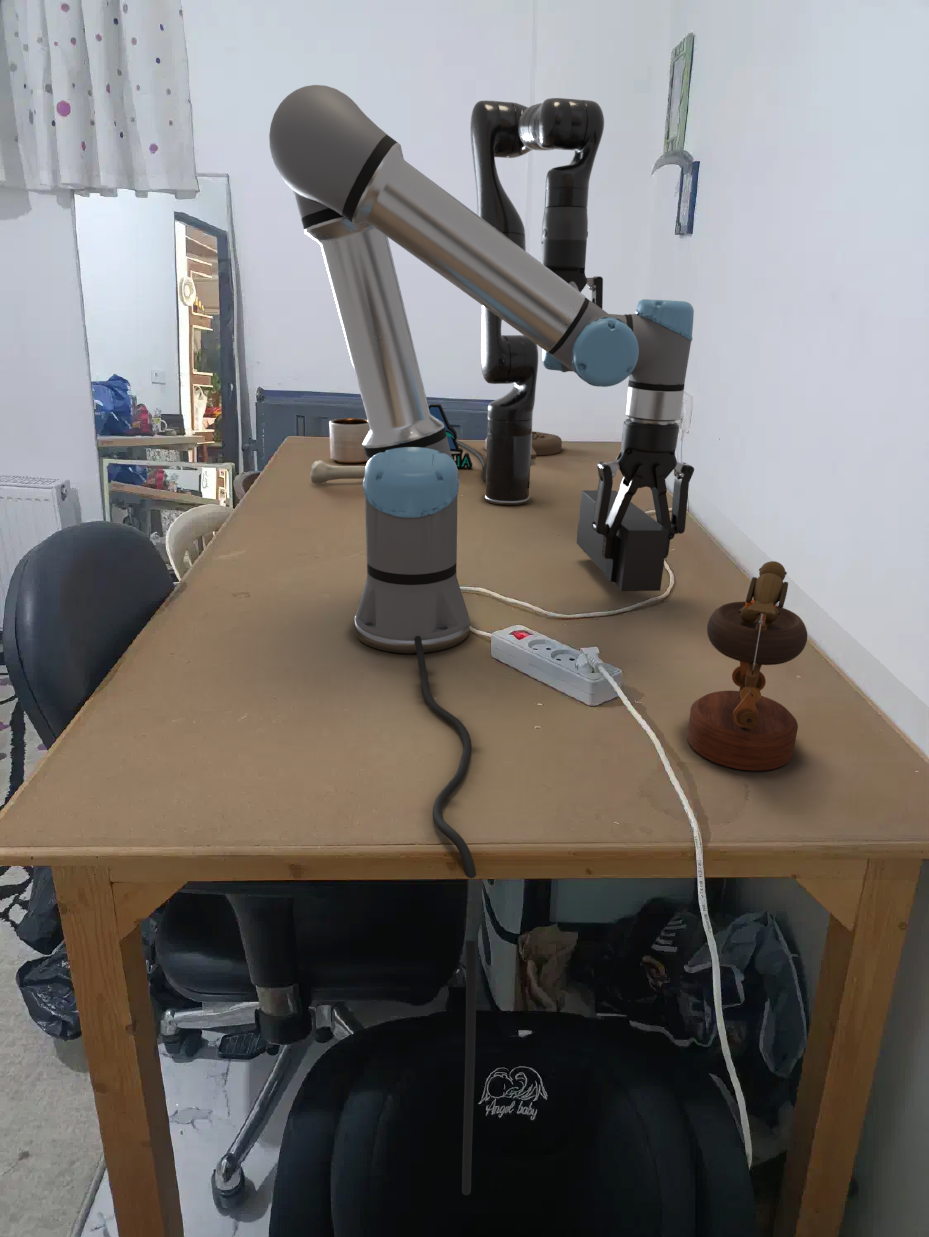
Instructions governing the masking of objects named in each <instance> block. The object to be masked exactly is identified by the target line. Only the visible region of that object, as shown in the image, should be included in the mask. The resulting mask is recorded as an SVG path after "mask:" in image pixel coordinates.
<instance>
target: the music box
mask: <svg viewBox="0 0 929 1237" xmlns="http://www.w3.org/2000/svg"><path fill="white" fill-rule="evenodd" d="M758 571H759V573H758V574H759V576H758V577H757V576H752V578H751V580H750V583H749V587H748V591H747V595H746V598H745V601H733V602H728V603H725V604H722V605H720V606H718V607H717V608H716V609H715V610H714V611H713V612H712V613H711V614H710V616H709V618H708V621H707V624H706V633H707V637H708V640H709V642H710V643H711V645H712V646H713V648H715V650H716V651H717V652H719V653H721V655H723V656H725V657H727V658H728V659H729V658H730V659H732V660H735V661H738V662H739V665H738V666H736V667H735V668H734V669H733V671H732V673H731V679H732V682H733V684H735V686H737V687H739V689H738V690H720V691H719V690H718V691H714V692H710V693H707V694H705V695H703V696H701V697H699V698H697V699H696V700H695V701H694V702H693V703H692V704H691V707H690V710H689V711H690V712H689V718H688V726H687V734H686V737H687V741H688V744H689V745H690V747H691V748H692V749H693V750H694V751H695V752H696V753H697V754H699V755H700V756H702V757H704V758H705V759H707V760H709V761H711V762H713V763H715V764H718V765H720V766H723V767H728V768H731V769H737V770H741V771H753V772H754V771H755V772H756V771H760V772H761V771H769V770H774V769H778V768H781V767H783V766H785V765H786V764H788V763H789V762H790V761H791V759H793V756H794V750H795V746H796V745H795V744H796V740H797V733H798V729H799V723H798V721H797V719H796V718H795V716H794V715H793V713H791V712H790V711H789V710H788V708H786V707H785V706H784V705H782V704H781V703H779V702H777V701H776V700H774V699H771V698H769V697H766V696H764V695H762V692H761V691H762V690H763V689H764V688H765V686H766V681H767V680H766V677H765V675H764V673H762V671H761V669H762V666H775V665H780V664H781V665H782V664H785V663H788V662H790V661H792V660H794V659H795V658H797V657H798V656H800V655H801V654H802V653H803V651H804V649H805V647H806V645H807V642H808V630H807V627H806V624H805V622H804V620H802V618H801V617H800V616H799V615H798V614H797V613H795V612H793V611H791V610H789V609H787V608H785V607H784V605H785V602H786V598H787V594H788V588H789V582H788V581H784V580H785V578H786V575H788V572H787V571H786V569H785V567H784V565H783V564H782V563H780V562H778V561H775V560H770V561H767V562H765V563H764V564H763V565H761V567H760V568H759V569H758ZM777 604H778V605H777Z"/></svg>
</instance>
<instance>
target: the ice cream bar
mask: <svg viewBox="0 0 929 1237" xmlns="http://www.w3.org/2000/svg"><path fill="white" fill-rule="evenodd" d="M562 446H563V441H562V438H561V437H560V436H559V435H556V434H551V433H547V432H540V431H532V443H531V460H537V456H548V455H554V454H558V453H560V452H561V451H562ZM484 449H485V450H486V451H487V437H486V438H485V439H484Z"/></svg>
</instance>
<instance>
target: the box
mask: <svg viewBox="0 0 929 1237" xmlns="http://www.w3.org/2000/svg"><path fill="white" fill-rule="evenodd" d="M597 490H598V489H597ZM597 490H595V489H593V490H592V489H591V490H590V489H589V490H587V489H585V490H583V489H582V490H581V491H580V501H579V502H580V503H579V513H578V521H577V522H578V523H577V532H576V542H575V543H576V545H577V546H578V547H579V548H580V549H581V550H582V551H583V552H584V553H585V555H587V557H588V558H589V559H591V561H592V562H593V563H594V564H595V565H596V566H597V567H598V568H599V569H600V571H602V572H603V574H605V571H606V562H607V559H605V558H604V557H603V556H602V545H603V535H602V534H598V533H597V532H596V531H595V530H594V529H593V528H592V520H593V514H594V508H595V502H596V496H597ZM618 492H619V491H617V490H612V491H611V497H610V502H609V508H608V514H607V518H608V516H609V514H610V511H611V509H612V507H613V504H614V502H615V499H616V497H617V495H618ZM606 521H607V520H606ZM668 532H669V530H667V529H666V528H665V527H663V526H662V525H661V524H659V523H658V522H657V520H656V519H654V518H653V517H652V516H650V515H649V514H648V513H646V512H645V511H644V510H642V509H641V508H640V507H638V506H637V505H636V504H634V503H633V502H632V501H630V504H629V506H628V509H627V511H626V513H625V516H624V518H623V520H622V523H621V525H620V527H619V530H618V532H617V534H616V536H618V537H619V538H620V539H621V541H620V549H619V558H618V566H617V574H616V582H612V583H613V584H614V586H616V587H617V588H618V590H619V591H620V592H661V588H662V580H663V574H664V567H665V559H666V558H665V553H666V546H667V539H668Z"/></svg>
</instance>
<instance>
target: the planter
mask: <svg viewBox="0 0 929 1237" xmlns="http://www.w3.org/2000/svg"><path fill="white" fill-rule="evenodd" d="M328 424H329V425H328V426H329V453H330V454H329V455H330V456H329V457H330V459H331V460H332V461H333V462H335V463H341V464H363V463H367V458H366V454H365V451H364V447H363V442H364V440H365V438H366V437H367V435H368V433H369V431H370V427H369V423H368V420H367V418H362V417H361V418H360V417H342V418H341V417H340V418H335V419H334V418H333V419H331V420H329V421H328Z"/></svg>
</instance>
